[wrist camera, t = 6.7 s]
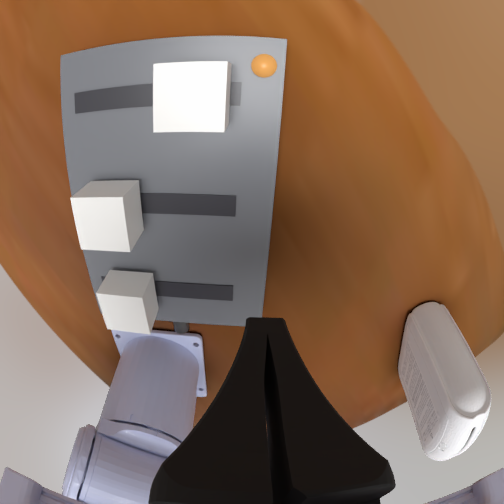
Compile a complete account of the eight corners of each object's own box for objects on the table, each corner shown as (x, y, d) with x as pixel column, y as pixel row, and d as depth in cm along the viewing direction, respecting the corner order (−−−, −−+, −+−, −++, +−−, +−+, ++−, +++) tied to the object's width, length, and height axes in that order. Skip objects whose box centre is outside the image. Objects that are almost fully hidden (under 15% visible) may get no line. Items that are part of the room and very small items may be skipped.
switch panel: (258, 326, 24) (258, 348, 22) (114, 315, 24) (106, 334, 22) (283, 43, 14) (287, 38, 12) (78, 55, 13) (57, 55, 11)
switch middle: (143, 229, 17) (130, 252, 15) (98, 228, 17) (81, 249, 15) (138, 180, 15) (122, 197, 13) (90, 181, 15) (70, 197, 13)
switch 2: (228, 123, 14) (224, 132, 12) (167, 123, 14) (153, 132, 12) (231, 64, 12) (227, 61, 10) (168, 65, 12) (153, 63, 10)
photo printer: (428, 363, 28) (465, 460, 18) (393, 374, 29) (423, 476, 18) (446, 294, 23) (510, 409, 12) (403, 306, 23) (459, 435, 13)
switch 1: (158, 308, 20) (150, 334, 18) (118, 305, 20) (107, 328, 18) (152, 272, 19) (142, 297, 17) (109, 269, 19) (96, 293, 17)
